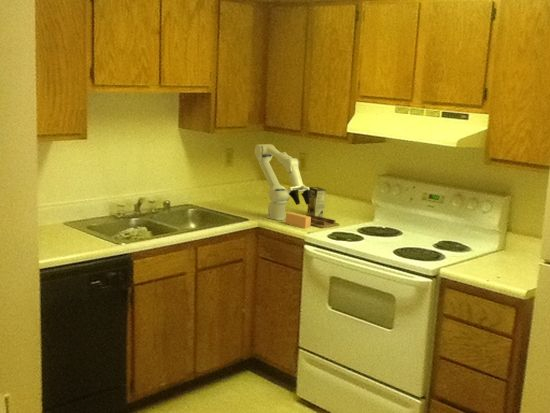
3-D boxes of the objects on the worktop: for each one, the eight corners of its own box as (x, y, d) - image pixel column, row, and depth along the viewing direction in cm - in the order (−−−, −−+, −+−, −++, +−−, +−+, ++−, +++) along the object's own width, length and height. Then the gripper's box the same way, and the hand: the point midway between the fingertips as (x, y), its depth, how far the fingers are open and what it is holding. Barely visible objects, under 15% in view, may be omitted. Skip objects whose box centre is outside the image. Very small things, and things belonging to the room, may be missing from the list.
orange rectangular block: (285, 224, 377) (286, 212, 376) (290, 223, 380) (291, 212, 379) (305, 228, 368) (305, 217, 367) (310, 228, 370) (310, 216, 369)
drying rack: (291, 221, 385) (291, 215, 384) (308, 218, 395) (309, 213, 394) (322, 228, 370) (322, 222, 369) (339, 225, 380) (339, 220, 379)
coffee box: (306, 215, 404) (308, 187, 401) (316, 214, 407) (318, 186, 404) (314, 218, 396) (316, 189, 394) (324, 217, 399) (326, 189, 396)
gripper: (291, 176, 366) (298, 201, 363) (310, 177, 377) (317, 201, 374) (282, 182, 371) (289, 206, 368) (301, 182, 381) (308, 205, 378)
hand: (303, 204), depth 371 cm, fingers open, 7 cm apart
